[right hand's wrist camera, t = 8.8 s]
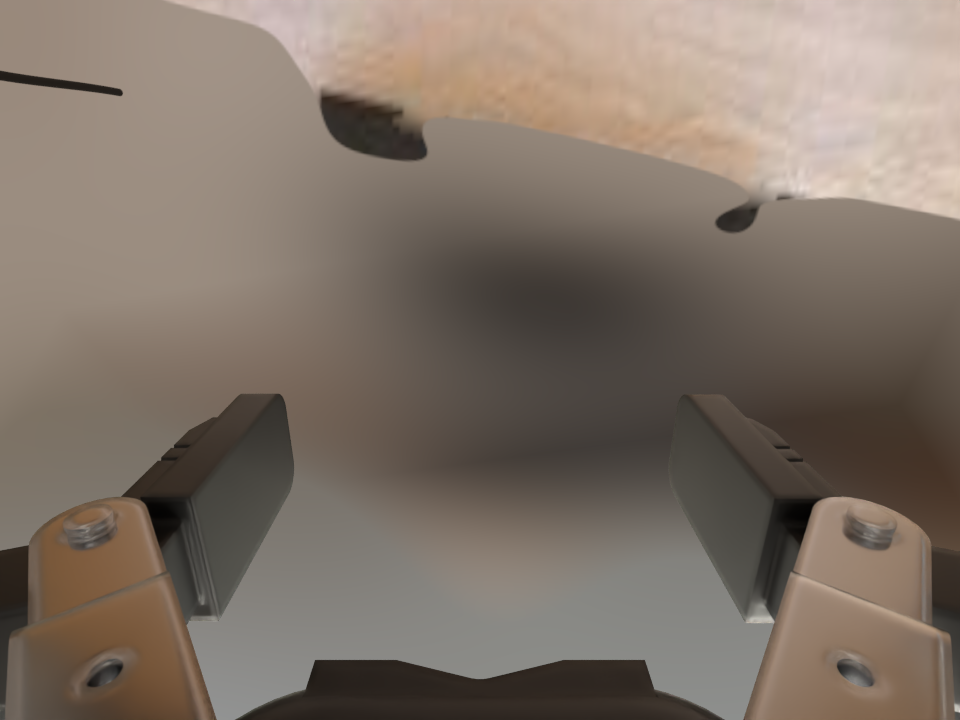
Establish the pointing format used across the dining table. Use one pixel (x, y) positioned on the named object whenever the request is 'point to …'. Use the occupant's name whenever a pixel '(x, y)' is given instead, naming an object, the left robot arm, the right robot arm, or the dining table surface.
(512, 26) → the dining table surface
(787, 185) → the dining table surface
